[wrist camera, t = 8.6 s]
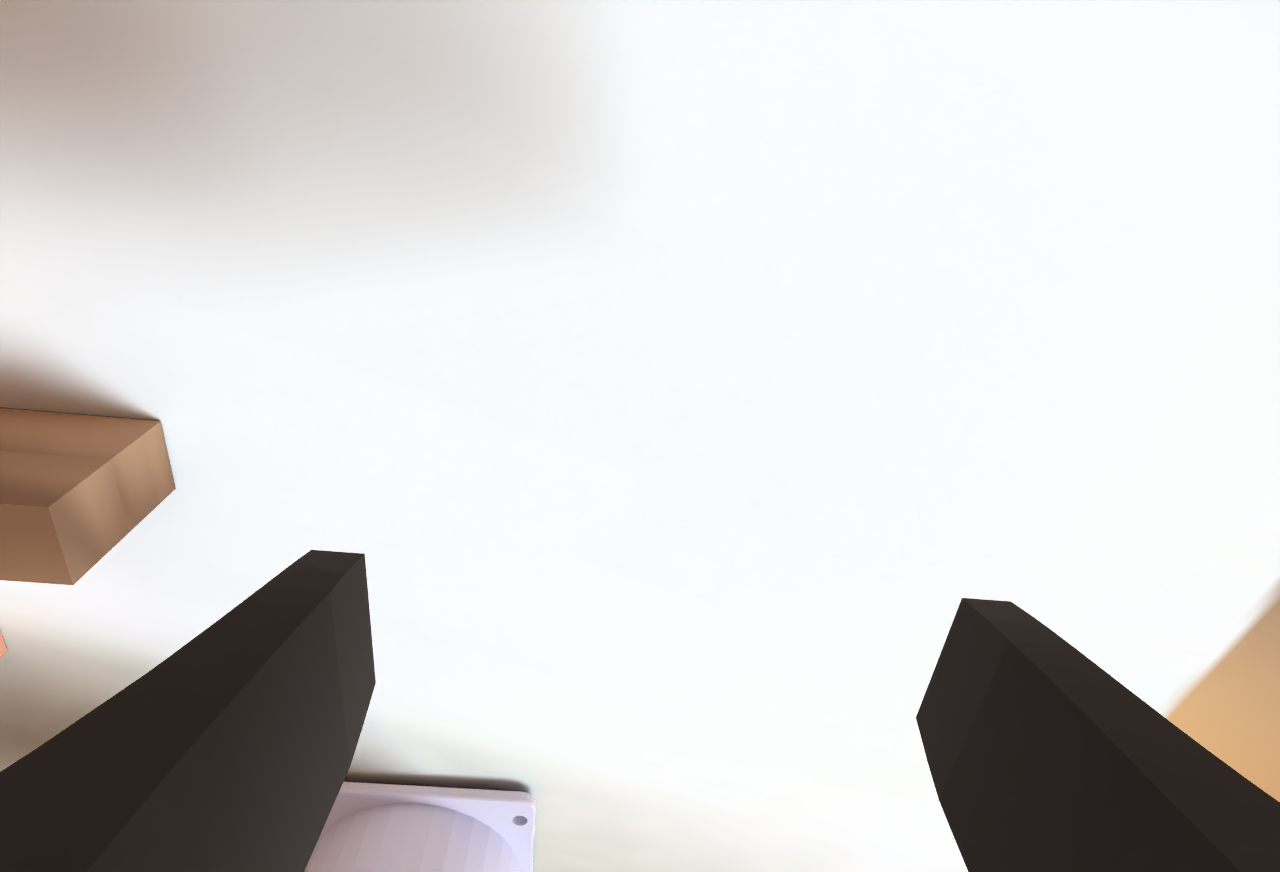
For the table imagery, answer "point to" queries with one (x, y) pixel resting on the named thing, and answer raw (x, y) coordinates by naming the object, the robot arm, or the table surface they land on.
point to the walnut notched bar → (74, 489)
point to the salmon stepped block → (2, 646)
